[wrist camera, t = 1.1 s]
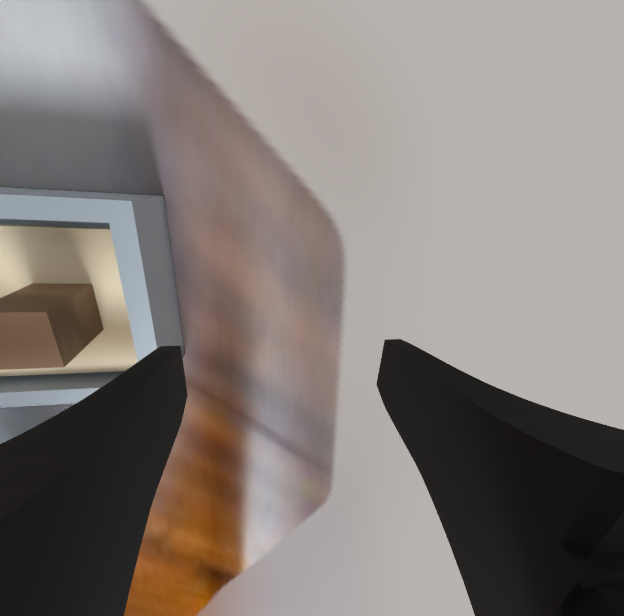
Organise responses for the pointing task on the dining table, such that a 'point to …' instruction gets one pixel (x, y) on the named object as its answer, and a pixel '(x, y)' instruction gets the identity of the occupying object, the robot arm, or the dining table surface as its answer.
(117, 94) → the dining table surface
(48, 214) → the box
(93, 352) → the cover plate
